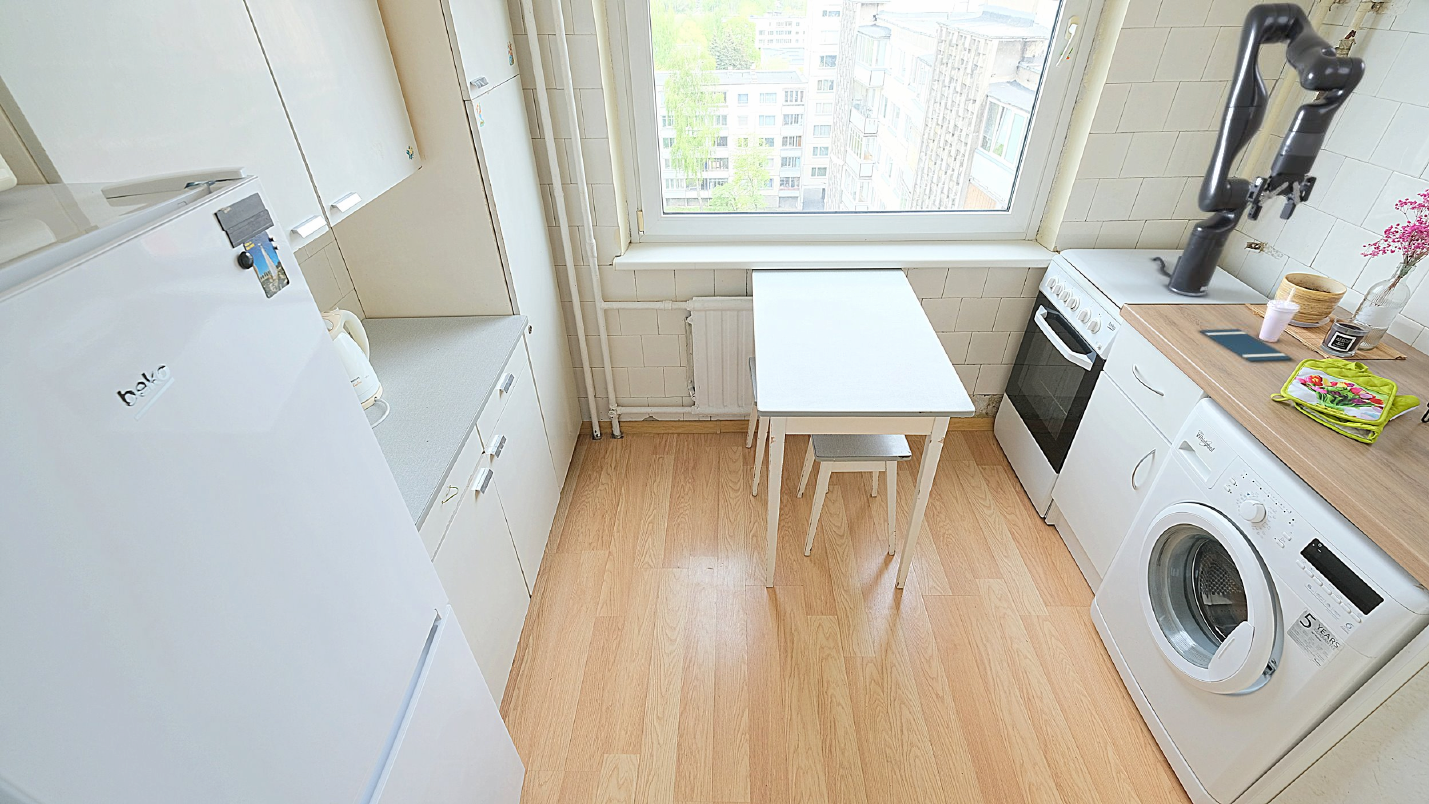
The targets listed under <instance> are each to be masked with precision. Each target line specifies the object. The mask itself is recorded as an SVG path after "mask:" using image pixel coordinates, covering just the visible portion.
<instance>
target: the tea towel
mask: <svg viewBox="0 0 1429 804" xmlns="http://www.w3.org/2000/svg"><path fill="white" fill-rule="evenodd" d="M1200 333H1202V334H1203V335H1205V336H1206V337H1208V338H1210V339H1212V340H1214V341H1215V342H1217V343H1219V344H1220V345H1222V346H1224V347H1225V348H1227V349H1229V350H1230V351H1232V352H1234V353H1235V354H1237V355H1239V356H1241V357H1242V358H1244V359H1245V360H1248V361H1249V362H1271V361H1272V362H1273V361H1274V362H1275V361H1292V359H1293V358H1292V357H1291V356H1288V355H1287V354H1285V353H1283V352H1281V351H1279V350H1277V349H1276V348H1273V347H1272V346H1270V345H1268V344H1266V343H1265V342H1263V341H1261V340H1259V339H1257V338H1255V337H1253V336H1252V335H1250V334H1249V333H1247V332H1244V331H1242V330H1241V329H1239V328H1236V329H1235V328H1234V329H1233V328H1232V329H1208V330H1207V329H1206V330H1205V329H1203V330H1200Z"/></svg>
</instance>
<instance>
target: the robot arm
mask: <svg viewBox="0 0 1429 804" xmlns="http://www.w3.org/2000/svg"><path fill="white" fill-rule="evenodd" d="M1276 44H1283V45H1285V46H1286V48H1285V51H1284V58H1285V60H1286V62H1287V64H1288V65H1289V66H1290V67H1291V68H1292V69H1293V70H1294V71H1296V72H1297V76H1298V81H1299V85H1300V87H1301V88H1302V89H1304V90H1305V91H1308V92H1314V93H1315V92H1316V93H1317V92H1319V93H1321V92H1322V93H1323V92H1325V93H1324V95H1322V97H1320V99H1318V100H1316V101H1311V102H1306V103H1302V104H1301V105H1300V106H1298V107H1297V109H1296V111H1295V114H1294V116H1293V119H1292V120H1291V123H1290V125H1289V126H1288V127H1289V128H1288V130H1287V132H1286V134H1285V135H1284V136H1283V139H1282V141H1281V142H1280V145H1279V148H1278V150H1277V152H1276V154H1275V157H1274V159H1273V162H1272V164H1271V166H1270V171H1271V172H1270V174H1269V176H1267V177H1265V176H1259V175H1258V176H1255V178H1254V180H1253V183H1251V182H1250V180H1248V179H1247V178H1243V177H1229V175H1230V172H1231V169H1232V166H1233V164H1234V161H1235V160H1236V158H1237V157H1238V156H1239V154H1240V153H1241V152H1242V150H1243V149H1244V148H1245V147H1246V146H1247V145H1248V144H1249V142H1251V140H1252V139H1253V138H1254V137H1255V136H1256V135H1257V133H1258V132H1259V130H1260V129H1261V128H1262V125H1263V123H1264V119H1265V117H1266V116H1265V115H1266V112H1267V109H1268V105H1269V99H1270V98H1269V92H1268V88H1267V86H1266V83H1265V81H1264V79H1263V76H1262V74H1261V71H1260V67H1259V56H1260V48H1261V45H1276ZM1337 55H1338V54H1337V50H1336V48H1335V47H1334V46H1333V45H1332V44H1331V43H1330V42H1329V41H1327V40H1326V39H1325V38H1323V37H1322V36H1321V35H1320V34H1319V33H1317V31H1316V29H1315V28H1314V26H1313V24H1312V22H1311V20H1310V19H1309V18H1308V16H1307V14H1306V12H1305V10H1304V9H1303V7H1302V6H1301V5H1299V4H1298V3H1295V2H1272V3H1271V2H1270V3H1269V2H1268V3H1258V4H1255V5H1254V6H1253V7H1251V9H1249V11H1248V12H1247V14H1246V15H1245V17H1244V20H1243V22H1242V26H1241V28H1240V33H1239V38H1238V43H1237V49H1236V55H1235V61H1234V62H1235V63H1234V66H1233V67H1234V68H1233V72H1232V77H1231V81H1230V86H1229V88H1228V92H1227V97H1226V100H1225V103H1224V106H1223V110H1222V114H1221V117H1220V120H1219V121H1220V122H1219V126H1218V131H1217V135H1216V139H1215V142H1214V146H1213V149H1212V153H1211V156H1210V159H1209V162H1208V165H1207V168H1206V170H1205V173H1204V176H1203V178H1202V181H1201V183H1200V187H1199V190H1198V194H1197V207H1198V209H1199V210H1200V211H1201V212H1203V213H1213V214H1212V215H1210V216H1208V217H1206V218H1205V219H1202V220H1199V221H1197V222H1195V223H1194V224H1193V226H1192V228H1191V230H1190V234H1189V236H1188V239H1187V241H1186V243H1185V246H1184V249H1183V252H1182V253H1181V255H1179V256H1178V258H1177V260H1176V263H1175V265H1174V268H1173V270H1172V273H1171V274H1170V273H1169V272H1167V271H1166V270H1165V268H1166V263H1165V261H1164V260H1163V258H1161V257H1160V256H1155V257H1154V258H1152V260H1153V261H1157V260H1158V261H1159V263H1160V265H1161V267H1160V271H1161V273H1162V274H1164V275H1165V276H1166V277H1168V278H1169V281H1168V284H1167V287H1168V288H1169V290H1170V291H1171V292H1173V293H1176V294H1179V295H1183V296H1188V297H1203V296H1206V294H1207V290H1208V289H1209V287H1210V286H1209V285H1210V283H1211V282H1212V280H1213V277H1214V274H1215V272H1216V269H1217V267H1218V264H1219V262H1220V260H1221V258H1222V255H1223V253H1224V250H1225V248H1226V245H1227V243H1228V240H1229V238H1230V237H1231V234H1232V233H1233V232H1234V231H1235V230H1236V228H1237V227H1238V225H1239V223H1240V221H1241V219H1242V217H1243V215H1244V213H1245V211H1246V208H1247V206H1248V204H1249V203H1251V206H1250V208H1249V209H1248V213H1247V220H1248V221H1252V222H1255V221H1258V218H1259V216H1260V214H1261V212H1262V209H1263V207H1264V204H1266V203H1267V202H1268V201H1269V200H1271V199H1273V198H1274V197H1280V196H1285V199H1286V202H1285V203H1284V205H1283V207H1282V209H1281V212H1280V215H1279V219H1282V220H1285V221H1287V220H1290V219H1291V217H1292V216H1293V214H1294V212H1295V210H1296V207H1297V206H1298V205H1299V204H1301V203H1306V202H1308V201H1309V199H1310V196H1311V194H1312V191H1313V189H1314V187H1315V184H1316V182H1317V176H1313V175H1308V174H1309V173H1310V172H1311V170H1312V168H1313V165H1314V164H1315V162H1316V159H1317V157H1318V156H1319V152H1320V151H1321V148H1322V146H1323V145H1324V141H1325V138H1326V135H1327V132H1328V130H1329V128H1330V126H1331V124H1332V121H1333V119H1334V117H1335V115H1336V114H1337V112H1338V111H1339V110H1340V108H1341V107H1342V106H1343V105H1344V103H1346V101H1347V100H1348V98H1349V97H1350V96H1351V94H1352V93H1353V92H1354V91H1355V89H1356V88H1357V87H1358V86H1359V84H1360V83H1361V81H1362V79H1363V78H1364V76H1365V73H1366V63H1365V60H1364V59H1363V58H1362V57H1359V56H1337Z"/></svg>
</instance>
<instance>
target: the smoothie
mask: <svg viewBox="0 0 1429 804" xmlns="http://www.w3.org/2000/svg"><path fill="white" fill-rule="evenodd" d="M1296 290H1297V289H1296V287H1292V289H1291V291H1290V293H1289V295H1288V297H1287V299H1286V300H1284V299H1270V300H1268V302H1267V304H1266V306H1267V308H1266V311H1265V316H1264V319H1263V321H1262V326H1261V329H1260V332H1259V335H1258V338H1259V339H1260V340H1262V341H1265V342H1270V343H1276V342H1277V341H1278V340H1279V338H1280V336H1281V335H1282V334H1283V332H1284V331H1285V329H1286V327H1287V326H1288V325H1289V323H1290V322H1291V320H1292V319H1293V317H1294V316H1295V314H1296V313H1297V312H1299V310H1300V308H1301V306H1300V305H1299V304H1297V303H1296V302H1293V301H1291V300H1292V297H1293V295H1294V293H1295V291H1296Z"/></svg>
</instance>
